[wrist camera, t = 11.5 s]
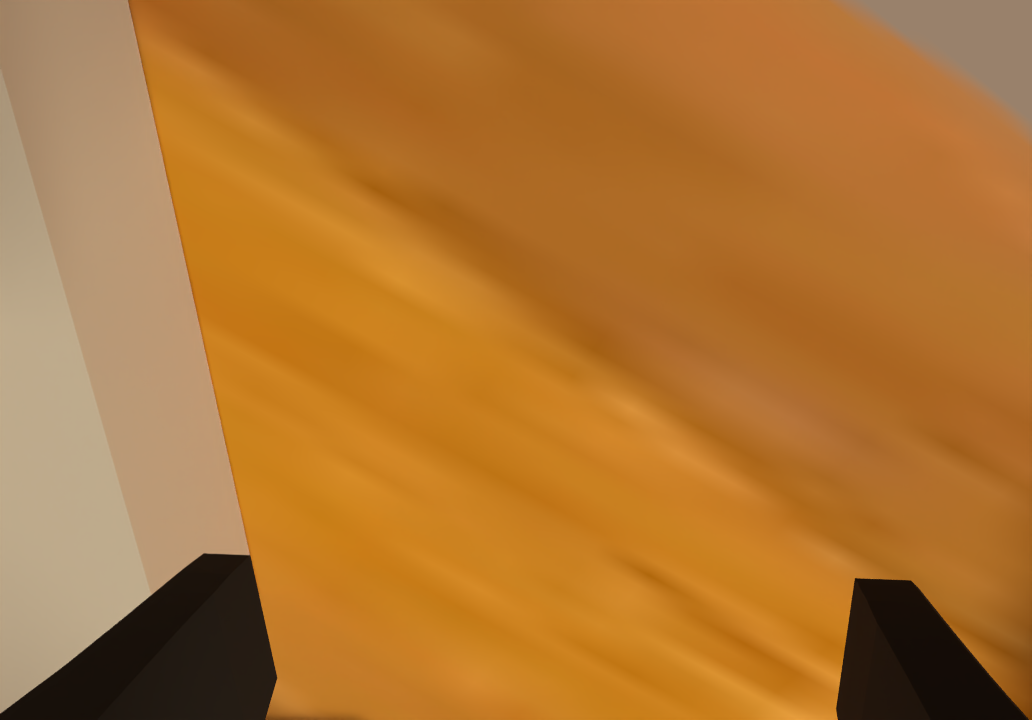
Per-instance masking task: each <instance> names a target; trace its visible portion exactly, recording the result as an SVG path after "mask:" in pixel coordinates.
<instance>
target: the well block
mask: <svg viewBox="0 0 1032 720" xmlns="http://www.w3.org/2000/svg"><path fill="white" fill-rule="evenodd" d="M203 553H208V554H234V555H250V554H249V549H248V545H247V540H246V535H245V531H244V526H243V522H242V517H241V513H240V508H239V504H238V499H237V495H236V490H235V485H234V481H233V476H232V472H231V467H230V463H229V458H228V454H227V449H226V445H225V440H224V435H223V431H222V426H221V422H220V417H219V413H218V408H217V404H216V399H215V395H214V390H213V385H212V381H211V376H210V372H209V367H208V363H207V358H206V354H205V349H204V345H203V340H202V335H201V331H200V326H199V322H198V317H197V313H196V308H195V304H194V299H193V295H192V290H191V285H190V281H189V276H188V272H187V267H186V263H185V258H184V254H183V249H182V244H181V240H180V235H179V231H178V226H177V222H176V217H175V213H174V208H173V204H172V199H171V194H170V190H169V185H168V181H167V176H166V172H165V167H164V163H163V158H162V154H161V149H160V144H159V140H158V135H157V131H156V126H155V122H154V117H153V113H152V108H151V104H150V99H149V94H148V90H147V85H146V81H145V76H144V72H143V67H142V63H141V58H140V54H139V49H138V44H137V40H136V35H135V31H134V26H133V22H132V17H131V13H130V8H129V4H128V0H0V713H1V712H3V711H4V710H6V709H7V708H8V707H10V706H11V705H12V704H14V703H15V702H16V701H18V700H19V699H20V698H22V697H23V696H24V695H26V694H27V693H28V692H30V691H31V690H32V689H34V688H35V687H36V686H38V685H39V684H40V683H42V682H43V681H44V680H46V679H47V678H48V677H50V676H51V675H52V674H54V673H55V672H57V671H58V670H59V669H61V668H62V667H63V666H64V665H66V664H67V663H68V662H69V661H71V660H72V659H73V658H74V657H76V656H77V655H78V654H79V653H81V652H82V651H83V650H84V649H86V648H87V647H88V646H89V645H91V644H92V643H93V642H94V641H96V640H97V639H98V638H99V637H100V636H102V635H103V634H104V633H105V632H107V631H108V630H109V629H110V628H112V627H113V626H114V625H115V624H117V623H118V622H119V621H120V620H122V619H123V618H124V617H125V616H126V615H128V614H129V613H130V612H131V611H132V610H134V609H135V608H136V607H137V606H139V605H140V604H141V603H142V602H143V601H145V600H146V599H147V598H148V597H149V596H151V595H152V594H153V593H154V592H155V591H157V590H158V589H159V588H160V587H162V586H163V585H164V584H165V583H166V582H168V581H169V580H170V579H171V578H173V577H174V576H175V575H176V574H177V573H179V572H180V571H181V570H182V569H184V568H185V567H186V566H188V565H189V564H190V563H191V562H193V561H194V560H195V559H197V558H198V557H199V556H201V555H202V554H203Z"/></svg>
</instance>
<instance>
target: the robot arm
mask: <svg viewBox="0 0 1032 720" xmlns="http://www.w3.org/2000/svg"><path fill="white" fill-rule="evenodd" d="M276 680H277V675H276V670H275V666H274V661H273V657H272V652H271V648H270V643H269V639H268V634H267V629H266V625H265V620H264V616H263V611H262V607H261V602H260V598H259V593H258V588H257V584H256V579H255V575H254V570H253V566H252V561H251V557H250V555H234V554H208V553H203V554H202V555H201V556H199V557H198V558H197V559H195V560H194V561H193V562H191V563H190V564H189V565H188V566H186V567H185V568H184V569H182V570H181V571H180V572H179V573H177V574H176V575H175V576H174V577H173V578H171V579H170V580H169V581H168V582H166V583H165V584H164V585H163V586H162V587H160V588H159V589H158V590H157V591H155V592H154V593H153V594H152V595H151V596H149V597H148V598H147V599H146V600H145V601H143V602H142V603H141V604H140V605H139V606H137V607H136V608H135V609H134V610H132V611H131V612H130V613H129V614H128V615H126V616H125V617H124V618H123V619H122V620H120V621H119V622H118V623H117V624H115V625H114V626H113V627H112V628H110V629H109V630H108V631H107V632H105V633H104V634H103V635H102V636H100V637H99V638H98V639H97V640H96V641H94V642H93V643H92V644H91V645H89V646H88V647H87V648H86V649H84V650H83V651H82V652H81V653H79V654H78V655H77V656H76V657H74V658H73V659H72V660H71V661H69V662H68V663H67V664H66V665H64V666H63V667H62V668H61V669H59V670H58V671H57V672H55V673H54V674H52V675H51V676H50V677H48V678H47V679H46V680H44V681H43V682H42V683H40V684H39V685H38V686H36V687H35V688H34V689H32V690H31V691H30V692H28V693H27V694H26V695H24V696H23V697H22V698H20V699H19V700H18V701H16V702H15V703H14V704H12V705H11V706H10V707H8V708H7V709H6V710H4V711H3V712H1V713H0V720H265V718H266V714H267V711H268V708H269V704H270V701H271V697H272V694H273V690H274V687H275V684H276ZM836 710H837V717H838V720H1029V719H1028V718H1027V717H1026V716H1025V715H1024V714H1023V712H1022V711H1021V710H1020V709H1019V708H1018V707H1017V706H1016V705H1015V704H1014V702H1013V701H1012V700H1011V699H1010V698H1009V697H1008V696H1007V695H1006V694H1005V692H1004V691H1003V690H1002V689H1001V688H1000V687H999V685H998V684H997V683H996V682H995V681H994V680H993V678H992V677H991V676H990V675H989V674H988V673H987V671H986V670H985V669H984V668H983V667H982V665H981V664H980V663H979V662H978V661H977V659H976V658H975V657H974V656H973V655H972V653H971V652H970V651H969V650H968V649H967V647H966V646H965V645H964V644H963V643H962V641H961V640H960V639H959V638H958V637H957V635H956V634H955V633H954V632H953V630H952V629H951V628H950V627H949V625H948V624H947V623H946V622H945V620H944V619H943V618H942V617H941V616H940V614H939V613H938V612H937V611H936V609H935V608H934V607H933V606H932V604H931V603H930V602H929V601H928V599H927V598H926V597H925V596H924V594H923V593H922V592H921V591H920V589H919V588H918V587H917V586H916V585H915V584H914V583H913V582H912V581H909V580H883V579H857V578H855V582H854V589H853V596H852V603H851V610H850V617H849V624H848V631H847V638H846V645H845V651H844V658H843V665H842V672H841V679H840V686H839V693H838V700H837V707H836Z"/></svg>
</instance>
